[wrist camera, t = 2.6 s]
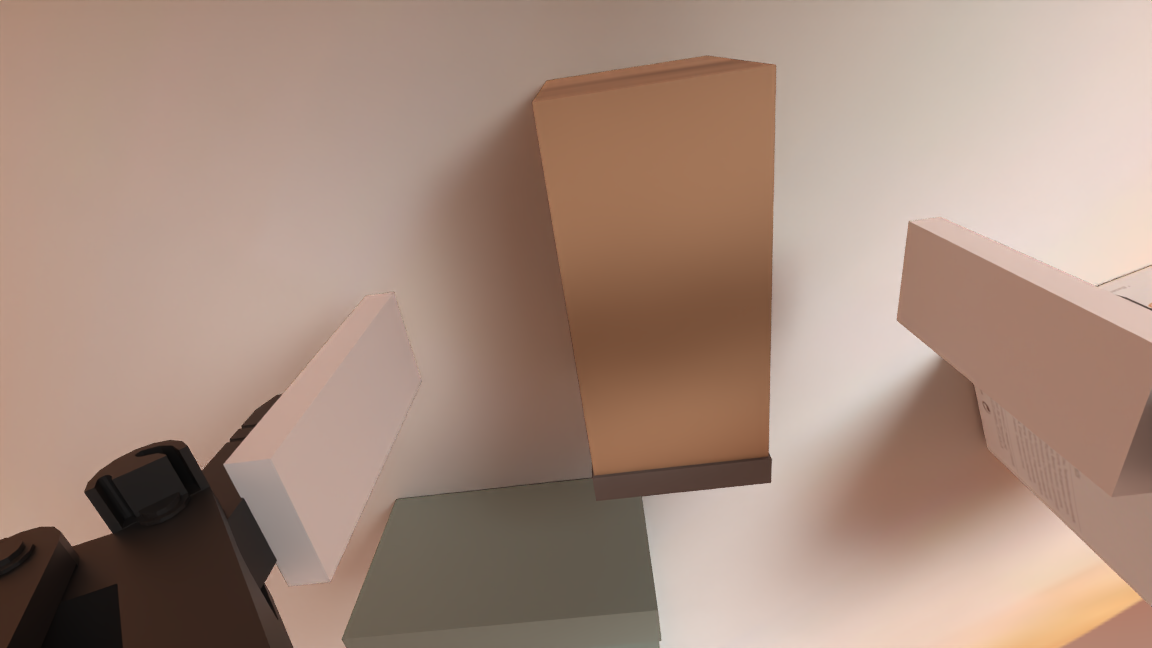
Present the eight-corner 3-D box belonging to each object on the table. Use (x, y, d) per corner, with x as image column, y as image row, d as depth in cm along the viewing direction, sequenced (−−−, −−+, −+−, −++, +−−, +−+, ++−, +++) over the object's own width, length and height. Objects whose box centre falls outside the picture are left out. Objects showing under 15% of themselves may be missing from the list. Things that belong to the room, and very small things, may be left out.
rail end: (545, 80, 16) (528, 102, 10) (708, 55, 15) (780, 64, 10) (590, 377, 20) (596, 501, 15) (718, 361, 20) (770, 482, 15)
